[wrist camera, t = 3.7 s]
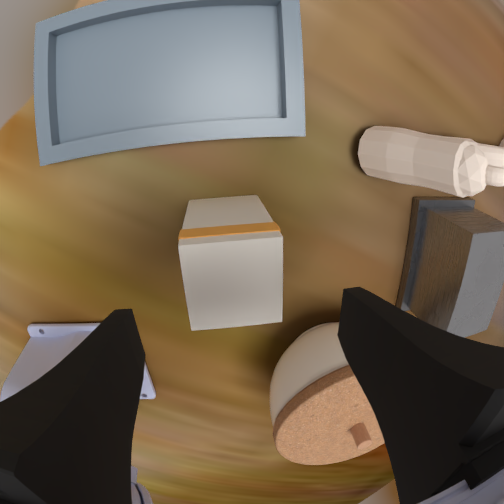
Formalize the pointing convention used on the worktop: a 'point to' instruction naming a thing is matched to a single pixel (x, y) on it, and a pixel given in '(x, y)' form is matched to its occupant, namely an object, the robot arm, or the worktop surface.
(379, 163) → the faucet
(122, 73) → the tray
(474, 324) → the block
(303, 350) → the lidded jar
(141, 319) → the worktop surface
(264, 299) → the cartridge
